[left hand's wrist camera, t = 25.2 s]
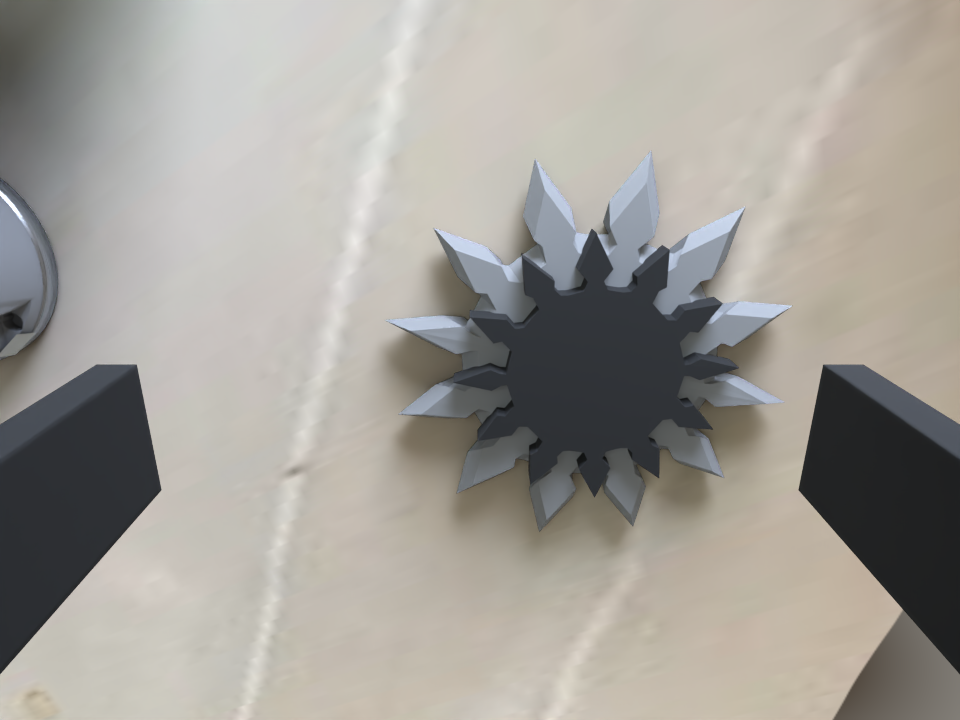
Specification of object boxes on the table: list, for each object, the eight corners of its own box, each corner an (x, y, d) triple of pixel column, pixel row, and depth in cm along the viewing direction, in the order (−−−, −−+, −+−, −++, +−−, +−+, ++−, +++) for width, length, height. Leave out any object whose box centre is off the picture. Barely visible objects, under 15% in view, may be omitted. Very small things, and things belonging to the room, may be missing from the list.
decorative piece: (347, 517, 48) (418, 95, 38) (356, 489, 52) (424, 98, 42) (729, 587, 50) (892, 205, 40) (711, 555, 54) (857, 198, 44)
